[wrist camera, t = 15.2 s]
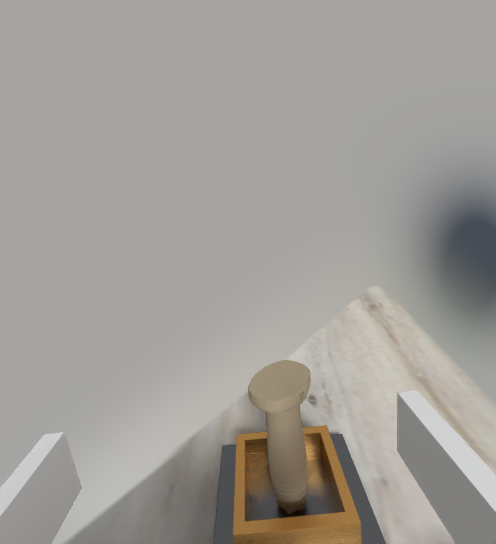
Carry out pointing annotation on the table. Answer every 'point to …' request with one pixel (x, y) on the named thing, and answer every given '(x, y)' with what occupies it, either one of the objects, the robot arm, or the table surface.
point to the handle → (284, 428)
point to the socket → (319, 496)
